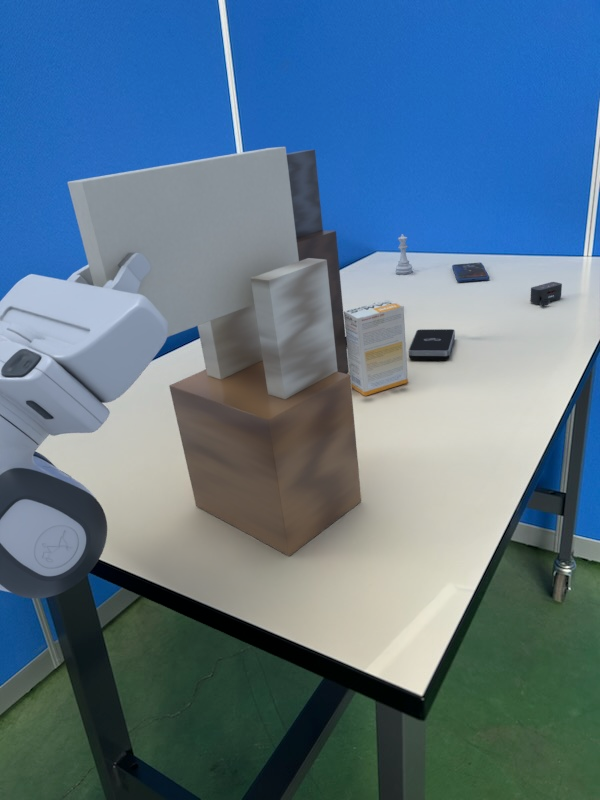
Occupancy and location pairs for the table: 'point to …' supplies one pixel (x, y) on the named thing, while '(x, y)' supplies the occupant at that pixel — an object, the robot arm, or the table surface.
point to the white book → (192, 230)
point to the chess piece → (403, 259)
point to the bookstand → (317, 238)
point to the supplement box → (376, 346)
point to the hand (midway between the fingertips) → (129, 256)
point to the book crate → (272, 413)
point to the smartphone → (470, 272)
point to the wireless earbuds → (546, 293)
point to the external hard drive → (432, 344)
